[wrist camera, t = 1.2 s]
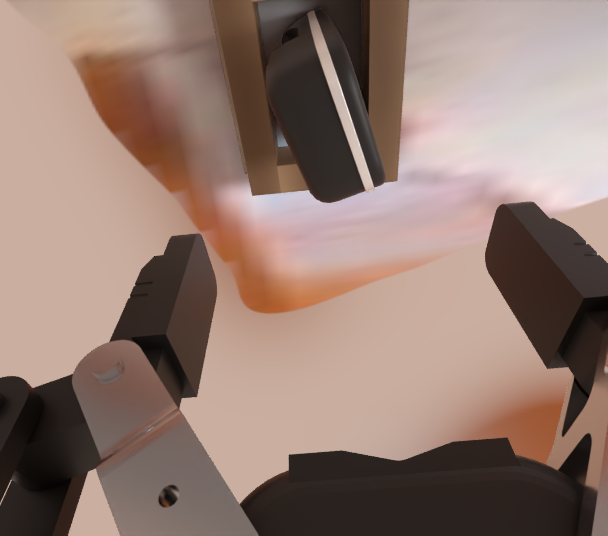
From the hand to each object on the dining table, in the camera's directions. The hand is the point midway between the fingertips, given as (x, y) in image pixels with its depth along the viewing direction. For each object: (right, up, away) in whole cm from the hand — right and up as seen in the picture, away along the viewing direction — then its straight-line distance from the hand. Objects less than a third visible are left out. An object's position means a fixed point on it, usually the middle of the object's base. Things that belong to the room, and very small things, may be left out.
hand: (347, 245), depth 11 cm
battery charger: (-1, +12, +14) cm, 19 cm away
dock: (-1, +12, +14) cm, 18 cm away
